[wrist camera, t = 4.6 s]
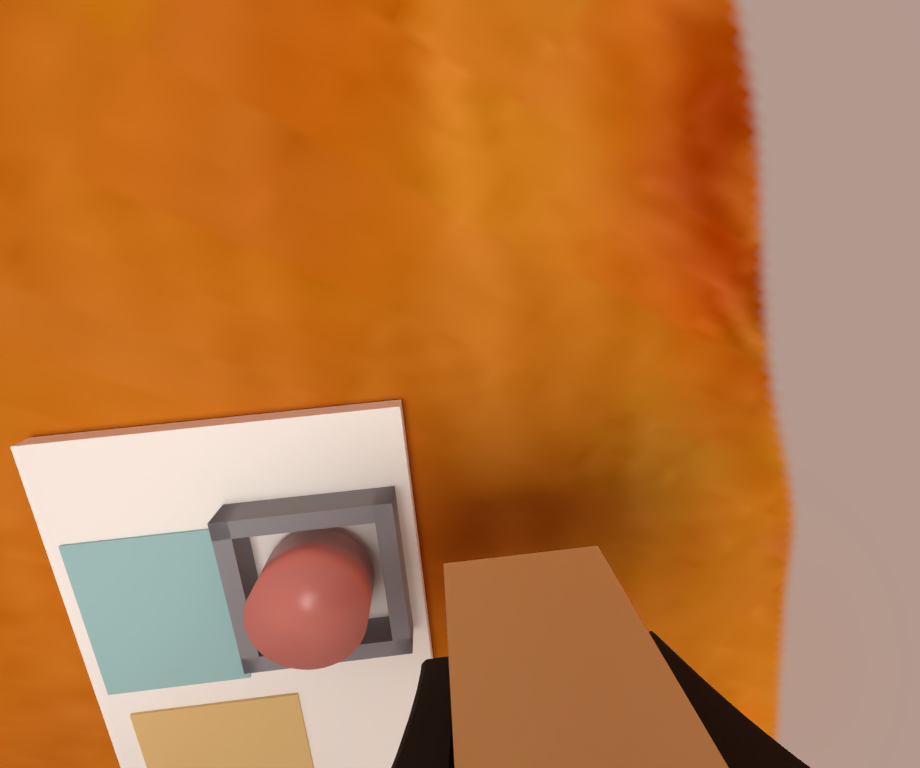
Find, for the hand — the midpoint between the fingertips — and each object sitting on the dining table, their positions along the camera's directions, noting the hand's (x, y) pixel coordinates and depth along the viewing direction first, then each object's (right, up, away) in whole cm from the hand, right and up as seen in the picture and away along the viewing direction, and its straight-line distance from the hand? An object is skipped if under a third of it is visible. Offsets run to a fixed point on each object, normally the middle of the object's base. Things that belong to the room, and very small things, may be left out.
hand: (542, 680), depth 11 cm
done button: (-7, 0, +5) cm, 8 cm away
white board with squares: (-9, -4, +8) cm, 12 cm away
